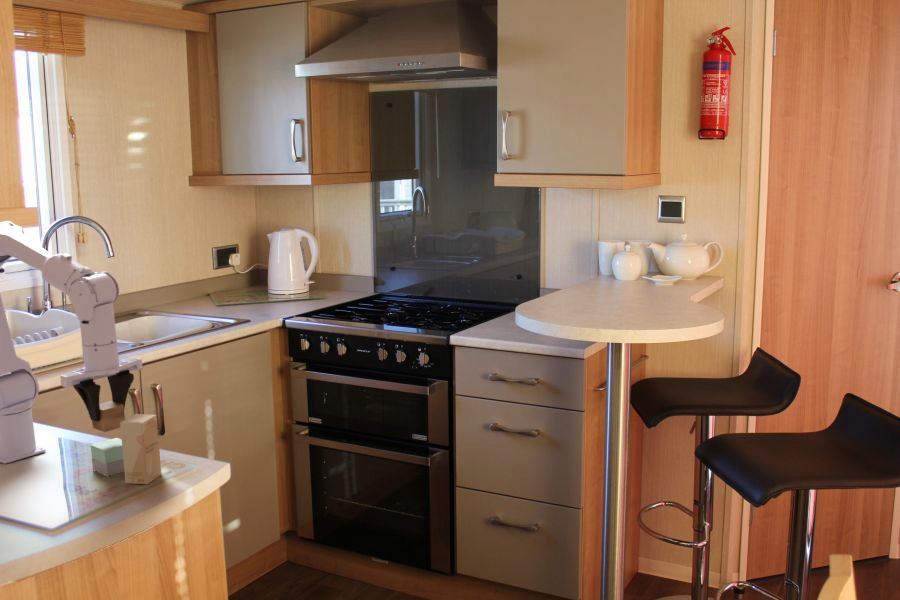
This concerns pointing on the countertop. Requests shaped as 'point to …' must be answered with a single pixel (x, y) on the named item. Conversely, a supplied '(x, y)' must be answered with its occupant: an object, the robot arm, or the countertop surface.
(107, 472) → the slab lower
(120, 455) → the slab upper
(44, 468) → the countertop surface
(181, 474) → the countertop surface
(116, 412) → the walnut cube
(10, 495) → the countertop surface
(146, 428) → the box
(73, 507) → the countertop surface
